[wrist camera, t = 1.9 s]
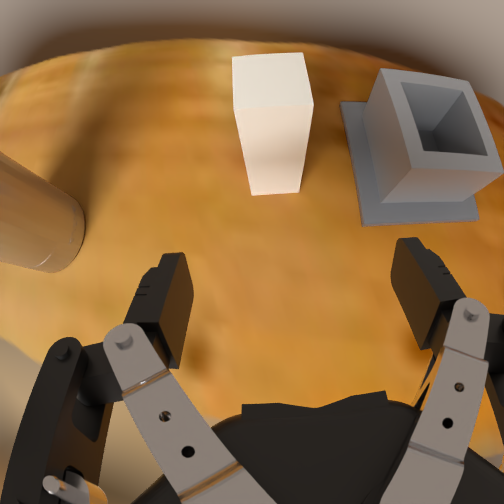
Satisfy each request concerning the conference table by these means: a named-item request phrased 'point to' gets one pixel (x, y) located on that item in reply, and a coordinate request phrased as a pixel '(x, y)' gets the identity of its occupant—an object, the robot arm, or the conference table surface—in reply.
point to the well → (419, 150)
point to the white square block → (272, 119)
